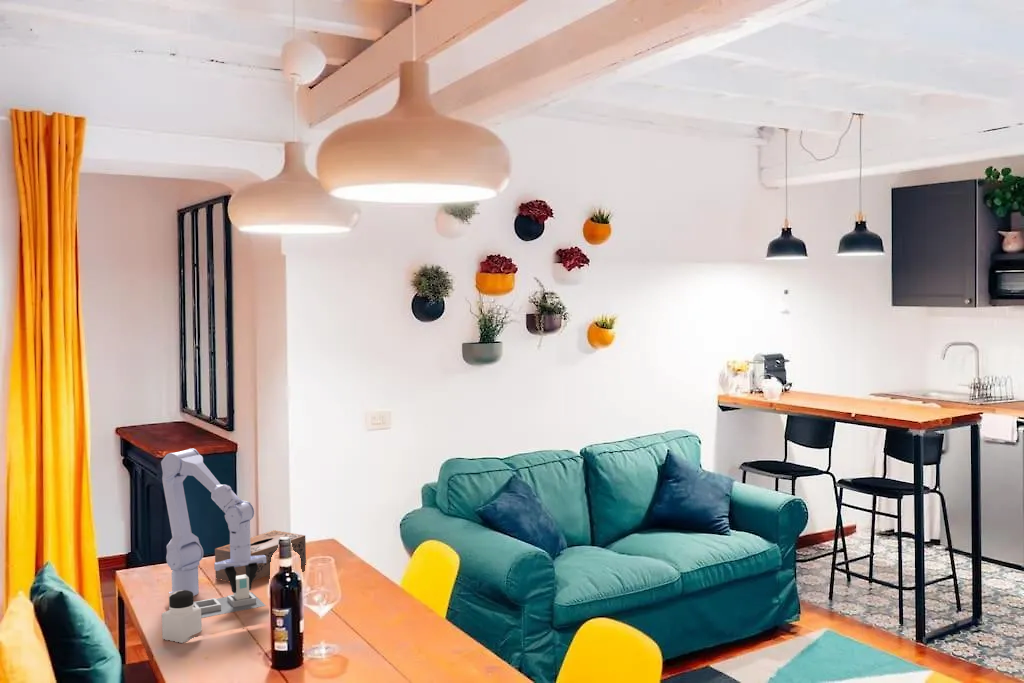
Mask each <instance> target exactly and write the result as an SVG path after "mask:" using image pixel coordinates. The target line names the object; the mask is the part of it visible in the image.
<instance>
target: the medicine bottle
mask: <svg viewBox="0 0 1024 683" xmlns="http://www.w3.org/2000/svg"><path fill="white" fill-rule="evenodd" d="M193 602H194V596H193V593H192V592H191V591H188V590H180V591H176V592H174V593H169V596H168V610H166V611H164V612H162V613H161V628H162V629H161V631H162V634H161V635H162V640H164V639H165V641H168V640H170V641H169V642H173V641H175V643H178V642H179V643H178V644H184V643H186V642H188V641H191V640H192V638H193V639H195V638H197V637H196V636H197V635H196V634H199V633H201V632H202V631H203V630H202V618H201V609H200V608H196V607H193V606H194V603H193ZM194 635H196V636H194ZM194 637H195V638H194ZM190 639H191V640H190ZM183 642H184V643H183Z"/></svg>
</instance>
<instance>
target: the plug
mask: <svg viewBox="0 0 1024 683" xmlns="http://www.w3.org/2000/svg"><path fill="white" fill-rule="evenodd" d="M249 592H250V590H249V577H248V576H247V575H246V574H244V575H238V576H236V593H233V592H232V593H233V594H232V595H234V598H235V599H236V600H240V599H246V598H249Z"/></svg>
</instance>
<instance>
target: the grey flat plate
mask: <svg viewBox="0 0 1024 683" xmlns="http://www.w3.org/2000/svg"><path fill="white" fill-rule="evenodd" d="M193 603H194V606H193V607H196V608H200V609H201V619H203V618H204V619H205V618H209V617H214V616H220V615H225V614H230V613H234V612H235V613H236V612H241V611H245V610H250V609H256V608H261V607H266V606H267V605H266V604H265V603H264V602H263V601H262V600H261V599H260V598H259V597H257V595H256V594H254V592H252V591H249V598H246V599H240V600H236V599H235V598H234V594H230V595H226V596H224V597H218V598H216V597H213V598H209V599H203V600H198V601H193Z"/></svg>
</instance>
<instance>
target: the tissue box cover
mask: <svg viewBox="0 0 1024 683" xmlns="http://www.w3.org/2000/svg"><path fill="white" fill-rule="evenodd" d="M280 537H289V538H290V539H291V543H292V547H293V550H294V551H295V552H297V553H298V554H299V555H300V558H301V566H300V567H302V566H305V565H306V564H307V560H306V559H307V555H306V554H307V551H306V550H307V549H306V548H307V547H306V546H307V543H306V535H305V534H298V533H293V532H292V533H291V532H286V531H282V530H274V529H273V530H270V531H267V532H263V533H261V534H258V535H253V536H252V537H251V536H250V543H251V556H259V555H265V556H266V563H258V564H257V566H258V570H257V571H256V573H255V575H254V578H253V581H252V582H254V581H256V580H259V579H261V578H265V577H270V576H269V575H270V562H271V557H272V555H273V553H274V552H275V551H276V550H277V548H278V540H279V538H280ZM228 559H230V543H229V544H226V545H223V546H219V547H215V548H214V560H215V561H214V563H216V562H221V561H224V560H228ZM305 563H306V564H305ZM234 569H235V571H236V576H238V575H244V574H246V568H245V566H239V567H234ZM214 570H215V569H214ZM216 578H217V579H216ZM215 579H216V580H219V579H222V580H221V581H223V580H226V581H225V582H228V581H229V579H228V576H227V574H226V572H225V571H224V569H221V570H219V571H216V570H215Z"/></svg>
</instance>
